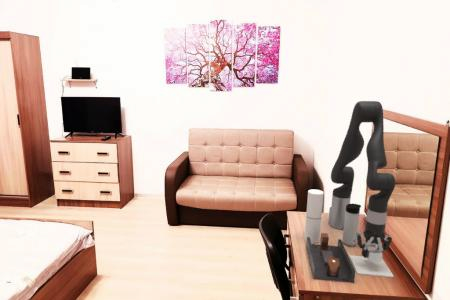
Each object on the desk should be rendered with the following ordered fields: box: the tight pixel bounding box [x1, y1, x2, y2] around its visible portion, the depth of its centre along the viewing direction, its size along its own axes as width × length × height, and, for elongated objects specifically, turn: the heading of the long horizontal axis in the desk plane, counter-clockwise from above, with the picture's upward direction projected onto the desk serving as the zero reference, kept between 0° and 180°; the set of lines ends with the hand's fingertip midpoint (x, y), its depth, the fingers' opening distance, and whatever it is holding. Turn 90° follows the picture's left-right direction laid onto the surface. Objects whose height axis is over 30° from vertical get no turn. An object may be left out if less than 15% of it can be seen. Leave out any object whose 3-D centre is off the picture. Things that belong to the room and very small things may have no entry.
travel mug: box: [341, 203, 362, 247], centre depth 156 cm, size 6×7×20 cm
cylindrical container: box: [304, 188, 324, 244], centre depth 159 cm, size 7×7×25 cm
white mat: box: [348, 255, 395, 278], centre depth 139 cm, size 14×14×1 cm
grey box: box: [362, 241, 383, 262], centre depth 138 cm, size 9×5×5 cm, turn 173°
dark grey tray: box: [305, 232, 356, 283], centre depth 141 cm, size 26×15×8 cm, turn 173°
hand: (371, 257), depth 138 cm, fingers closed on grey box, 5 cm apart
